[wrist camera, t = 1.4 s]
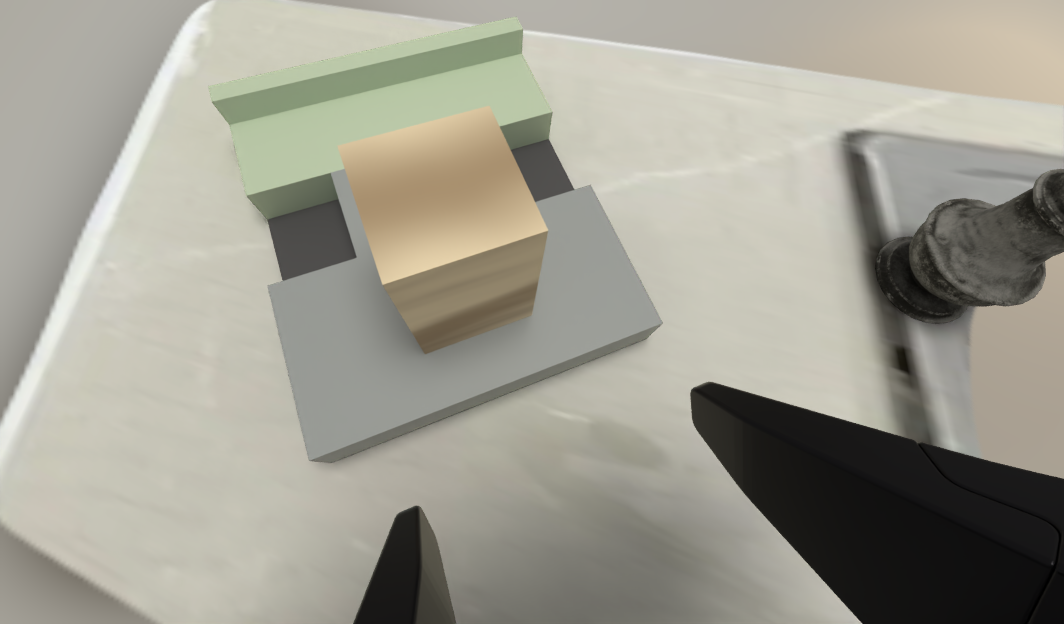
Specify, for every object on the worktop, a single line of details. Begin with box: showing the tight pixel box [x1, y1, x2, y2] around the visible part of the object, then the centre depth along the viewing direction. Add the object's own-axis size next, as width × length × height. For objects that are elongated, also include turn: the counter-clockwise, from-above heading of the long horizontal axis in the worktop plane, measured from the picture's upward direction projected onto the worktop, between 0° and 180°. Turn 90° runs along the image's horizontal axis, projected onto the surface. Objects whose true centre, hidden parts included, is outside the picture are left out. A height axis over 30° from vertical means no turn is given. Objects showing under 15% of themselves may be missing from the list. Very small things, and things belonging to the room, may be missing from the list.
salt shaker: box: [875, 169, 1064, 324], centre depth 20 cm, size 6×6×12 cm
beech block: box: [338, 106, 548, 354], centre depth 17 cm, size 5×5×8 cm
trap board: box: [208, 17, 663, 463], centre depth 22 cm, size 18×16×4 cm
